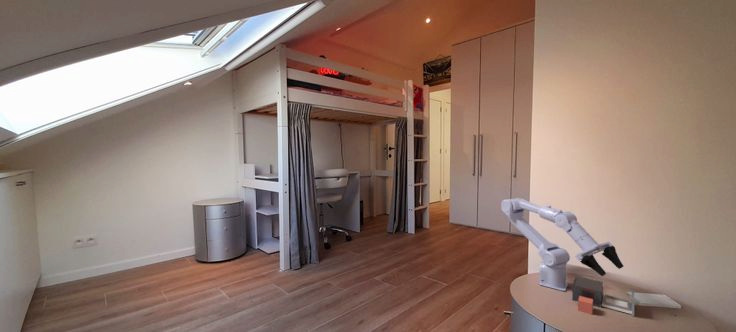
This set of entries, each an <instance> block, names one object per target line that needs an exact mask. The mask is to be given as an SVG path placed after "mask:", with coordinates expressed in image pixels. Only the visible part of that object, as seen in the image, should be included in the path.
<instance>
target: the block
mask: <svg viewBox="0 0 736 332" xmlns="http://www.w3.org/2000/svg"><path fill="white" fill-rule="evenodd" d="M577 304H578V305H577V311H578V312H582V313H584V314H585V313H586V314H588V315H591V316H592V315H593V310H594V306H593V299H590V298H586V297H582V296H579V299H578V301H577Z"/></svg>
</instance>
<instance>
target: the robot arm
mask: <svg viewBox="0 0 736 332" xmlns="http://www.w3.org/2000/svg"><path fill="white" fill-rule="evenodd" d="M500 204H501V211H502V212H503V213H504V214H505V216H506V217H507V219H508V220H509V222H510V223H511V224H512V226H514V227H515V229H517V230H518V231H519V232H520V233H521V234H522V235H523V236H524V237H525V238H526V239H527V240H528V241H529V242H530V243H532V245H534V247H536V248H537V249H538V254H537V255H538V256H539V257H540V258H541V260H542V262H540V264H539V273H538V274H539V277H538V279H539V283H538V285H539V286H544V287H547V288H552V289H554V290H557V291H562V292H566V290H567V289H568V285H569V283H568V282H567V279H566V277H567V275H566V274H567V271H566V270H567V267H566V266H567V263H568V262H569V261H570V259H571V257H570V253H569V252H568V251H567V250H566V249H564V248H563V247H560V246H559V245H558V244H556V243H552V242H551V241H549V240H547V238H545V236H543V235H542V234H541V233H540V232H539V231H538V230H536V229H535V228H534V227H533V226H532V224H530V223H529V222H528V221H527V220H526V219H525V218H523V217H524V213H525V211H529V212H532V213H535V214H537V215H539V217H540V218H541V219H544V220H546V221H548V222H551V223H553V224H555V226H556V227H558V228H559V229H562V230H563V231H564V232H566V234H567V235H568V236H569V237H570V238H571V239H572V240H573V241H574V243H576V245H577V246H578V247H579V248H580V249H581V250H582V251H581V252H578V253H577V254H576V255H575V256H574V257H575V258H576V260H578V261H580V263H581V264H582V265H583V266H586V267H589V268H590V269H592V270H593V271H595V273H597V275H600V276H601V277H604V276H605V275H606V274H607V273H606V271H605V270H604V268H603V267H602V266H601V265H600V264H599V262H598V261H597V260H596V258H595V256H594V255H596V254H598V253H600V252H602V253H601V255H602V256H603V257H605V258H606V259H607V260H609V261H610V262H611V263H612V264H613V265H614V266H615V267H616V269H619V270H620V269H623V267H624V264H623V263H622V261H621V259H620V258H619V255H618V253H617V250H616V247H615V246H614V245H613V244H612V243H611V242H610V241H606V242H603V243H598V242H597V241H596V240H595V238H594V237H592V235H591V234H590V233H589V232H587V230H586V229H585V228H584V227H583V226H582V225H581V223H579V221H578V218H577V216H576V214H574V213H573V212H571V211H569V210H568V211H563V210H562V209H556V208H553V207H552V205H549V204H547V205H543V206H540V205H538V204H536V203H533V202H531V201H529V200H526V199H525V198H521V197H515V198H509V199H508V198H507V199H504V200H502V201H501V203H500Z"/></svg>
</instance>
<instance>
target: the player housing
mask: <svg viewBox="0 0 736 332" xmlns="http://www.w3.org/2000/svg"><path fill="white" fill-rule="evenodd" d="M603 284H604V283H603V281H600V280H596V279H591V278H586V277H582V276H578V275H575V276H574V280H573V283H572V291H571V292H572V294H571V295H572V297H571V298H572V301H575V302H578V299H579V296H582V297H586V298H590V299H593V307H596V306H597V308H600V307H601V308H602V298H601V297H603V296H604V293H603V292H604V291H603V290H604V285H603Z"/></svg>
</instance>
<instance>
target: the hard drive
mask: <svg viewBox="0 0 736 332" xmlns="http://www.w3.org/2000/svg"><path fill="white" fill-rule="evenodd" d="M626 293H627V294H628V295H629V296H630V299H631V298H632V291H626V292H625V294H626ZM627 294H626V295H627ZM628 295H627V296H628ZM629 296H628V297H629ZM634 298H635V303H636V304H638V305H640V306H647V307H648V306H649V307H657V308H658V307H659V308H673V309H682V306H681V305H680V303H678V302H677V301H675V300H674V299H672V298H670V297H669V296H668V295H665V294H659V293H646V292H636V291H634Z"/></svg>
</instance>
